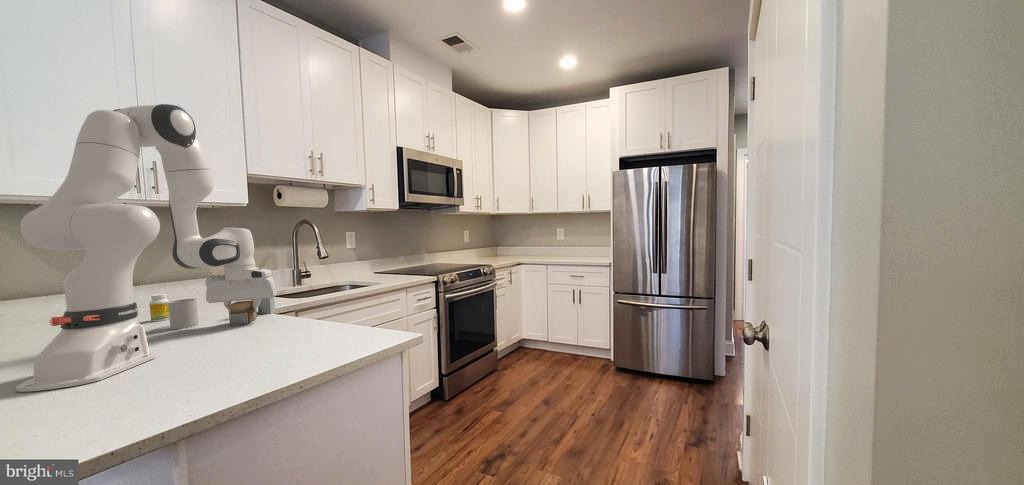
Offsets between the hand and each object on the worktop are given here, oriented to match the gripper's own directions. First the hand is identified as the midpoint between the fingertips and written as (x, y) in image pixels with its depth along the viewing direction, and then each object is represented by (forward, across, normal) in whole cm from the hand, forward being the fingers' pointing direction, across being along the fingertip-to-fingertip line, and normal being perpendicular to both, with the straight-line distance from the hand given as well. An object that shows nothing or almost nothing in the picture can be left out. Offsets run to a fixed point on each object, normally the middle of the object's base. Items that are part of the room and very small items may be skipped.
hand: (243, 313), depth 130 cm
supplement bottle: (+3, -34, +19) cm, 39 cm away
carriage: (+3, 0, 0) cm, 3 cm away
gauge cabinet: (+3, +2, +14) cm, 14 cm away
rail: (+3, 0, +4) cm, 5 cm away
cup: (+3, -19, +3) cm, 20 cm away
